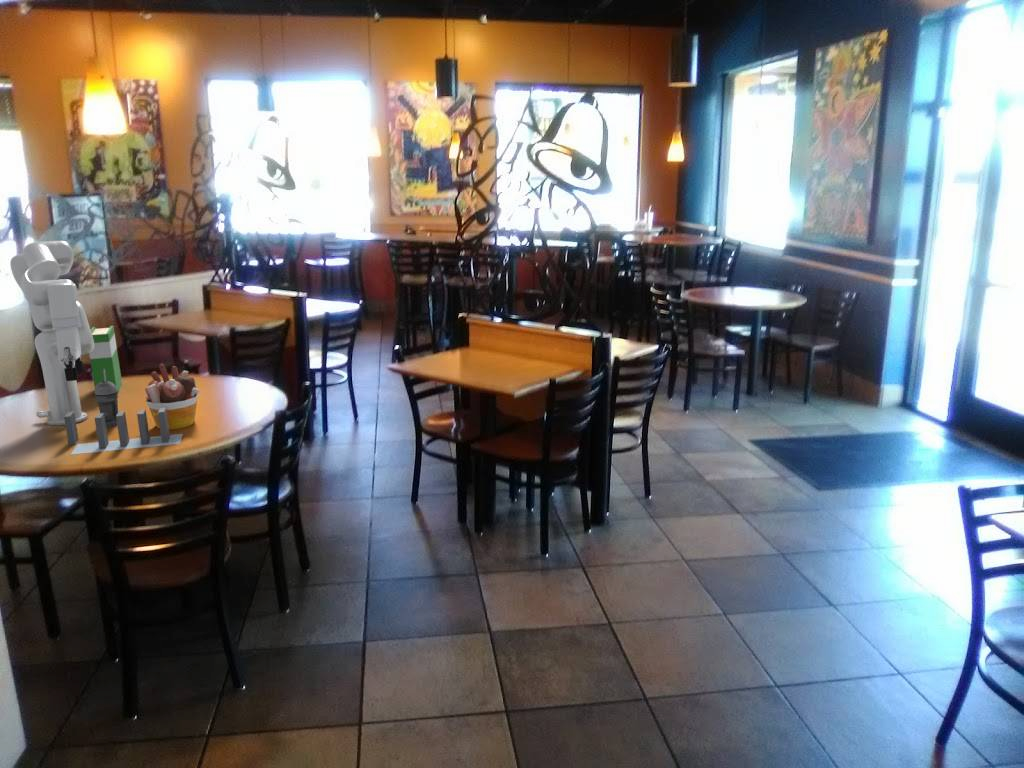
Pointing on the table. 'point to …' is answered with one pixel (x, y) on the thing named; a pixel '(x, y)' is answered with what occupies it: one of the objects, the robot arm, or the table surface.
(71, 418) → the domino
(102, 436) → the domino
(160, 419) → the domino
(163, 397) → the bucket of meat
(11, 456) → the table surface
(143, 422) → the domino
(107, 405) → the beverage cup
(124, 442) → the domino
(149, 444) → the mat
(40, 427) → the table surface
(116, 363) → the green tall box
